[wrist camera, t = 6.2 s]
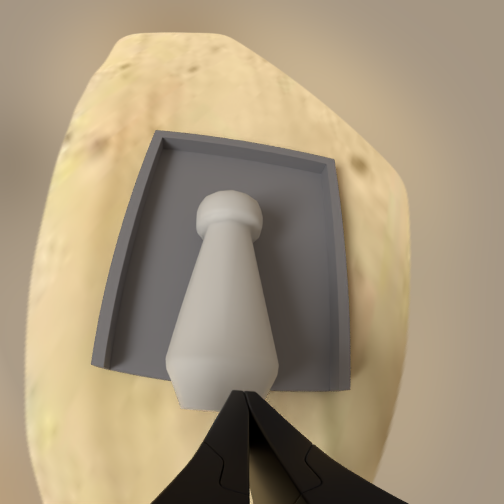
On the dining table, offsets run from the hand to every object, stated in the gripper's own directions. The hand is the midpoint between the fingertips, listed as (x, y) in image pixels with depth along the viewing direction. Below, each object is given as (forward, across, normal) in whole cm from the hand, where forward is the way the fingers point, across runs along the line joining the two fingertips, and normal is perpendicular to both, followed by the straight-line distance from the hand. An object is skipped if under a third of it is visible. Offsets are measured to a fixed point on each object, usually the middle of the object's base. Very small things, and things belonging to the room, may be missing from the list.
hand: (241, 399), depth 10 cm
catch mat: (+13, 0, +1) cm, 13 cm away
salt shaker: (+3, 0, -4) cm, 5 cm away
